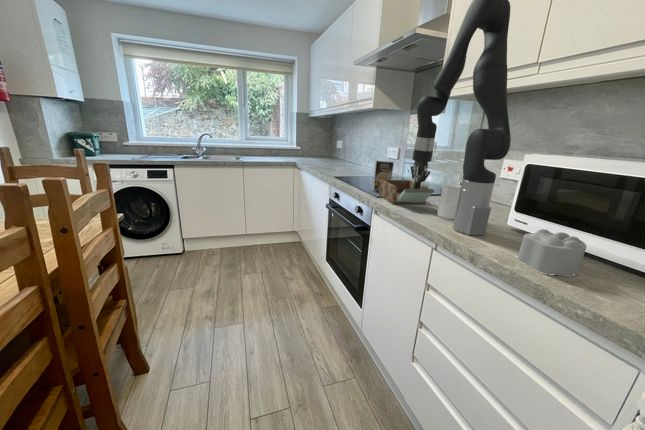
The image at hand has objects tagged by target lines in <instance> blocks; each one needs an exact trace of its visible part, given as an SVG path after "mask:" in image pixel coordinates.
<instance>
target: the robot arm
mask: <svg viewBox="0 0 645 430" xmlns="http://www.w3.org/2000/svg"><path fill="white" fill-rule="evenodd" d="M463 17H464V18H463V20H462V22H461V25H460V27H459V29H458V32H457V35H456V36H455V39H454V42H453V44H452V47H451V50H450V52H449V54H448V56H447V58H446V60H445V62H444V65H443V66H442V67H441V70H440V71H439V73H438V75H437V77H436V79H435V80H434V82H433V89H435V94H434V96H432V95H424V96H423V97H422V98H421V99H420V100H419V102H418V104H417V107H416V114H417V126H418V127H417V133H416V137H415V138H416V139H415V142H414V147H413V153H412V160H413V161H414V163H413V166H412V165H411V166H410V173H411V180H413V182H414V188H413V189H420V185H422V183H424V182H426V180H427V179H428V177H429V176H430V174H431V171H430V170H428V167H429V163H431V162H432V160H433V159H432V158H433V153H434V148H435V139H436V134H437V127H438V126H437V124H436V123H435V122H433V117H436V116H437V117H438V116H439V115H441V114H442V113H443V112H444V110H445V109H446V107H447V106H448V102H449V99H450V97H451V93H452V90H453V89H454V87H455V86H456V84H457V83H458V81H459V79H460V77H461V76H462V74H463V71H464V69H465V67H466V60H467V55H468V54H467V53H468V49H469V45H470V42H471V40H472V38H473V36H474V34H475V32H477V30H478V29H479V30H481V31H482V32H483V35H484V36H483V37H484V40H483V41H484V42H483V44H484V46H483V51H482V53H481V54H480V56H479V58H478V60H477V62H476V63H475V66H474V68H473V72H472V90H473V91H472V92H473V96H474V97H475V99H476V101H477V103H478V104H479V106H480V107H481V108H482V111H483V112H484V114H485V116H486V119H487V125H488V128H477V129H475V130H472V132H471V133H470V134H469V136H468V138H467V141H466V145H465V151H464V158H463V165H462V171H463V172H462V173H463V175H462V179H461V185H460V186H461V189H460V194H459V199H458V204H457V209H456V215H455V219H453V220H454V221H453V226H452V228H453V230H454V231H456V232H459V233H462V234H464V235H465V234H466V235H468V236H485V235H486V231H487V226H488V223H489V218H490V214H491V210H492V207H491V206H490V205H491V199H492V195H493V191H494V186H495V182H496V178H497V175H496V173H495V172H493V171H491V170H489V169H487V168H486V167H485V161H486V160H487V161H489V160H490V161H498V160H503V159H504V158H505V157H506V156H507V154H508V153H509V151H510V147H511V129H510V121H509V112H508V34H509V25H510V18H511V2H510V1H509V0H472V1H471V3H470V4H469V6H468V7H467V10H466V13H465V15H464V16H463Z"/></svg>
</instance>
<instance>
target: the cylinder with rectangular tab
mask: <svg viewBox="0 0 645 430" xmlns="http://www.w3.org/2000/svg"><path fill="white" fill-rule="evenodd" d="M460 189H461V185H442V189H441V192H440V193H441V195H440V198H439V201H438V206H437V213H436V215H437V216H439V217H441V218H444V219H448V220H449V219H450V220H455V215H456V209H457V204H458V199H459V194H460Z"/></svg>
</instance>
